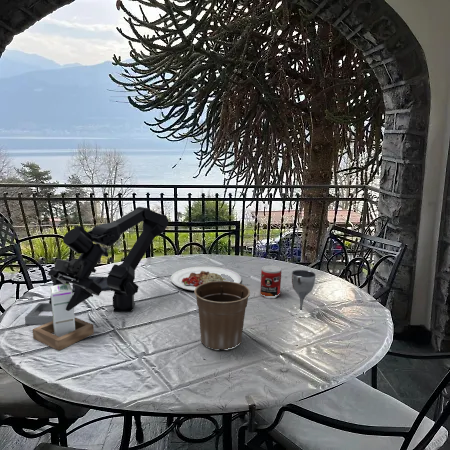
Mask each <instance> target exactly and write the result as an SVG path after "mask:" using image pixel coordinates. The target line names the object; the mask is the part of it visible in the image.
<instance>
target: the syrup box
mask: <svg viewBox="0 0 450 450" xmlns="http://www.w3.org/2000/svg"><path fill="white" fill-rule="evenodd" d="M49 287H50V297H51V302H52V311H51V312H52V316H53V324H54V332H53V333H54V335H56V336H58V337H61V336H63V335H66V334H68V333H70V332H72V331H74V330H75V318H76V317H75V307H74V308H72V309H71V310H69V311H67V310H66V307H67V305H68V303H69V301H70V299H71V298H72V296H73V294H74V293H73V291H72V289H73V288H72V284H71V283H69V284H60V285H54V286H53V285H50V286H49Z"/></svg>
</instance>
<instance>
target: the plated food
mask: <svg viewBox="0 0 450 450" xmlns="http://www.w3.org/2000/svg"><path fill="white" fill-rule="evenodd" d="M221 274H225V275H228V276H230V277H231V278H232V279H233V280H234V282H235V283H239V284H241V282H242V277H241V275H240V274H239V273H238V272H236V271H233V270H231V269H227V268H225V267H218V266H192V267H191V266H190V267H186V268H183V269H179V270H176V271H175V272H173V273H172V275H171V276H170V282H171V283H173V284H174V285H175V286H176V287H178V288H180V289H184V290H188V291H192V292H193V291H195V288H196V287H197V286H199V285H201V284H204V283H207V282H211V281H223V280H227V279H225V278H223V277H222V276H221Z"/></svg>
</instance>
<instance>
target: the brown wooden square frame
mask: <svg viewBox="0 0 450 450" xmlns="http://www.w3.org/2000/svg"><path fill="white" fill-rule="evenodd" d="M94 329H95V328H94V324H93V323H90V322H88V321H85V320H82V319H81V318H77V317H75V330H74V331H72V332H70V333H68V334H66V335H63V336H61V337H58V336H56V335H55V333H54V324H53V321H51V322H49V323H46V324H40V325H39V326H37V327H34V328H32V336H33V337H32V338H33V339H34V340H35V341H38V342H40V343H42V344H43V345H46V346H48V347H50V348H52V349H54V350H56V351H62V350H64V349H65V348H67V347H69V346H72V345H74V344H75V343H78V342H80V341H82V340H84V339H86V338H88V337H89V336H92V335H94V334H95V333H94V332H95V331H94ZM53 333H54V334H53Z"/></svg>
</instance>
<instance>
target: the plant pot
mask: <svg viewBox="0 0 450 450" xmlns="http://www.w3.org/2000/svg"><path fill="white" fill-rule="evenodd" d="M194 295H195V296H196V304H197V308H198V319H199V330H200V341H201V344H202V343H203V344H204V345H205V347H206V346H207V347H210V348H213V349H221V350H223V349H228V348H232V347H235V346H236V345H238V344H239V343H240V342H241V343H242V339H243V331H244V325H245V324H244V322H245V315H246V314H245V313H246V308H247V306H248V301H249V297H250V295H251V290H250V289H249V287H248V286H246V285H244V284H242V283H240V284H239V283H235V282H230V281H211V282H207V283H204V284H201V285H199V286H197V287H196V288H195V291H194ZM241 343H240V344H241ZM203 344H202V345H203ZM204 345H203V346H204ZM207 347H206V348H207ZM210 348H209V349H210Z"/></svg>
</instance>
